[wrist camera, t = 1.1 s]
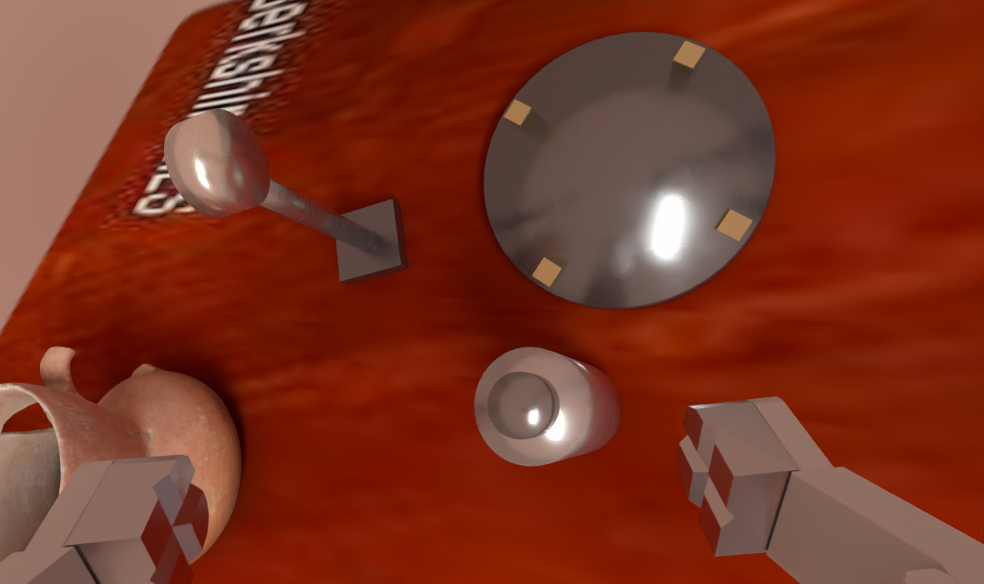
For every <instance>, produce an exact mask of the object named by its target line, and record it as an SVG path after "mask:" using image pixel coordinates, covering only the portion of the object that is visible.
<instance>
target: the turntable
mask: <svg viewBox="0 0 984 584" xmlns="http://www.w3.org/2000/svg"><path fill="white" fill-rule="evenodd" d="M774 169H775V140H774V135H773V130H772V125H771V120H770V118H769V115H768V113H767V110H766V107H765V105H764V102H763V101H762V99H761V97H760V95H759V94H758V92H757V90H756V88H755V87H754V86H753V84H752V83H751V82H750V81H749V79H748V78H747V77H746V76H745V74H744V73H743V72H742V71H741V70H740V69H739V68H738V67H736V66H735V65H734V64H733V63H732V62H731V61H730V60H729V59H727V58H726V57H724V56H723V55H721V54H720V53H718V52H717V51H715V50H713V49H711V48H709V47H707V46H705V45H703V44H701V43H699V42H696V41H693V40H690V39H687V38H684V37H681V36H676V35H670V34H665V33H653V32H636V33H624V34H618V35H613V36H607V37H604V38H601V39H597V40H594V41H591V42H588V43H586V44H583V45H581V46H579V47H576V48H574V49H572V50H570V51H568V52H567V53H565V54H563V55H561V56H560V57H558V58H556V59H555V60H553V61H552V62H551V63H549V64H548V65H546V66H545V67H544V68H542V69H541V70H540V71H539V72H538V73H537V74H535V75H534V76H533V77H532V78H531V79H530V80H529V81H528V82H527V83H526V84H525V85H524V86H523V87H522V89H521V90H520V91H519V92H518V93H517V94H516V96H515V97H514V98H513V100H512V101H511V103H510V104H509V105H508V107H507V108H506V110H505V112H504V114H503V115H502V117H501V119H500V121H499V122H498V125H497V127H496V129H495V132H494V134H493V137H492V139H491V143H490V146H489V149H488V153H487V158H486V164H485V170H484V196H485V205H486V209H487V214H488V218H489V221H490V224H491V227H492V229H493V232H494V234H495V237H496V238H497V240H498V242H499V244H500V246H501V247H502V249H503V251H504V252H505V253H506V255H507V256H508V257H509V259H510V260H511V261H512V263H513V264H514V265H515V266H516V267H517V268H518V269H519V270H520V271H521V272H522V273H523V274H524V275H525V276H526V277H528V278H529V279H530V280H532V281H533V282H534V283H536V284H537V285H538V286H540V287H541V288H543V289H544V290H546V291H548V292H550V293H552V294H553V295H555V296H557V297H559V298H561V299H564V300H566V301H569V302H571V303H574V304H577V305H581V306H585V307H590V308H594V309H603V310H634V309H641V308H647V307H653V306H656V305H660V304H663V303H667V302H670V301H673V300H675V299H677V298H680V297H682V296H684V295H687V294H689V293H691V292H692V291H694V290H696V289H697V288H699V287H701V286H703V285H704V284H706V283H708V282H709V281H710V280H711V279H713V278H714V277H715V276H717V275H718V274H719V273H721V272H722V271H723V270H724V269H725V268H726V267H727V266H728V265H729V264H730V263H731V262H732V261H733V260H734V259H735V258H736V257H737V256H738V255H739V254H740V252H741V251H742V250H743V248H744V247H745V246H746V245H747V243H748V242H749V241H750V239H751V237H752V236H753V234H754V232H755V230H756V229H757V227H758V225H759V224H760V222H761V219H762V217H763V214H764V212H765V209H766V207H767V204H768V201H769V196H770V192H771V188H772V184H773V178H774Z"/></svg>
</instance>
